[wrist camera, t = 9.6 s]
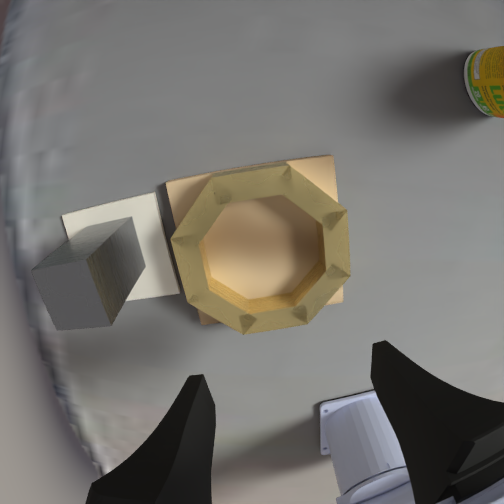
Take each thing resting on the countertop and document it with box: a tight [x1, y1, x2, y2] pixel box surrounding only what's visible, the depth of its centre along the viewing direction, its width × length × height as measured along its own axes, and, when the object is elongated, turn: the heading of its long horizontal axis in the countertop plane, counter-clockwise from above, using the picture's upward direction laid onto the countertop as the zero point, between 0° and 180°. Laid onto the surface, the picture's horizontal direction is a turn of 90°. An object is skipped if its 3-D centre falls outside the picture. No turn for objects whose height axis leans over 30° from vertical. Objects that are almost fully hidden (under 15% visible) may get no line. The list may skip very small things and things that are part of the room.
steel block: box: [31, 216, 146, 330], centre depth 17 cm, size 4×4×7 cm
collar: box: [170, 162, 350, 335], centre depth 19 cm, size 10×10×2 cm
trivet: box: [62, 192, 180, 301], centre depth 20 cm, size 7×7×1 cm
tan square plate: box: [166, 155, 343, 325], centre depth 20 cm, size 10×10×1 cm
